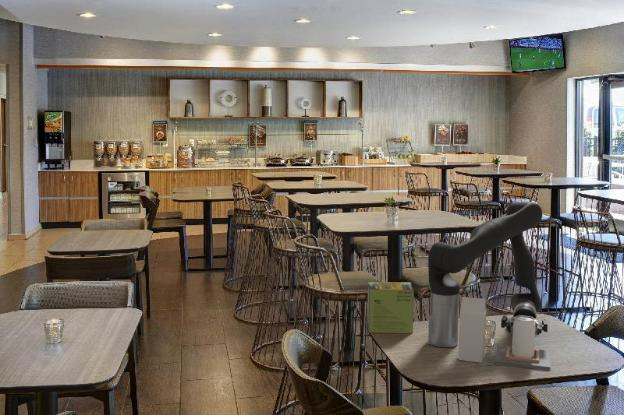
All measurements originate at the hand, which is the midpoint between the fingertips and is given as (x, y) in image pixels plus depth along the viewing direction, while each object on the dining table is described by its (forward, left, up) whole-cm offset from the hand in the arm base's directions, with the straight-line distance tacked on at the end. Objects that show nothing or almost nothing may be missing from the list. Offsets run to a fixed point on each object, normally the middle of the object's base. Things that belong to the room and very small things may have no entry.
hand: (523, 330), depth 217 cm
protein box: (-45, +13, -8) cm, 47 cm away
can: (0, -5, -7) cm, 8 cm away
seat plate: (0, -4, -8) cm, 9 cm away
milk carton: (-15, -8, -8) cm, 19 cm away
